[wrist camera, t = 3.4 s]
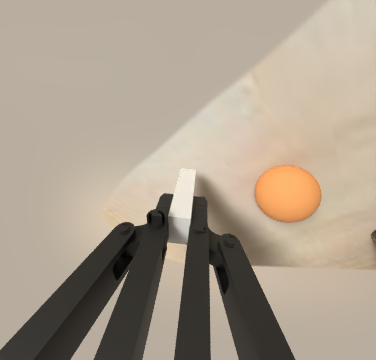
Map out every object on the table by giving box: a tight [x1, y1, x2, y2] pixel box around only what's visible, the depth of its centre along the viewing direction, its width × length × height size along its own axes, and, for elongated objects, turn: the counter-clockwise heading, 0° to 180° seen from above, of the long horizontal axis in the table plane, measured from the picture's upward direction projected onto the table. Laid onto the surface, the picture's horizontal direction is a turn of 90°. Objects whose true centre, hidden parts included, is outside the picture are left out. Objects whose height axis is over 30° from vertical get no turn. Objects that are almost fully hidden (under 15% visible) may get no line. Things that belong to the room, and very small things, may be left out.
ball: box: [255, 165, 321, 222], centre depth 16 cm, size 6×6×6 cm
